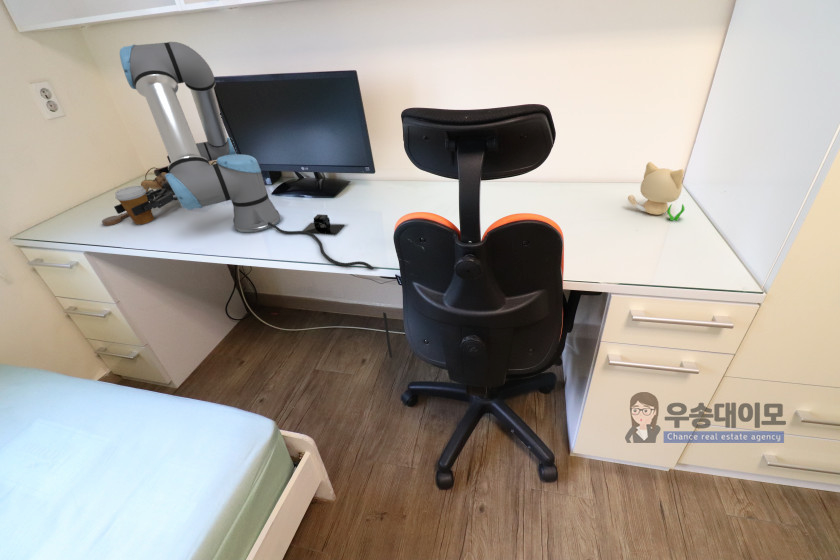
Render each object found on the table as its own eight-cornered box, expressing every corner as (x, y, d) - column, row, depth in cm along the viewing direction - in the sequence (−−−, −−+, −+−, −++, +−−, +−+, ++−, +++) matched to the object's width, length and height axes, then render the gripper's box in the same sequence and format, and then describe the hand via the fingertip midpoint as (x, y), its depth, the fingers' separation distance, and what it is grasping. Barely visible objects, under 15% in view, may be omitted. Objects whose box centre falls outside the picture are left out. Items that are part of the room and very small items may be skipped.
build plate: (301, 233, 128) (297, 220, 125) (312, 223, 133) (308, 210, 131) (335, 235, 124) (332, 221, 122) (345, 225, 130) (342, 212, 128)
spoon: (165, 201, 162) (164, 197, 161) (110, 226, 144) (108, 222, 143) (155, 200, 164) (153, 196, 163) (99, 224, 146) (97, 221, 145)
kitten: (689, 215, 118) (705, 166, 110) (670, 225, 114) (686, 175, 105) (641, 201, 129) (653, 155, 120) (623, 210, 124) (634, 163, 116)
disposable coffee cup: (124, 224, 144) (107, 193, 137) (149, 214, 151) (134, 184, 144) (139, 228, 140) (123, 196, 133) (164, 217, 147) (149, 186, 140)
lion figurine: (178, 190, 173) (169, 170, 168) (175, 194, 168) (166, 173, 163) (142, 195, 170) (132, 175, 165) (137, 199, 166) (127, 179, 161)
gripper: (200, 198, 155) (150, 223, 137) (163, 195, 161) (110, 218, 144) (193, 180, 150) (140, 203, 133) (154, 177, 157) (99, 199, 140)
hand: (124, 211), depth 139 cm, fingers closed on disposable coffee cup, 8 cm apart
